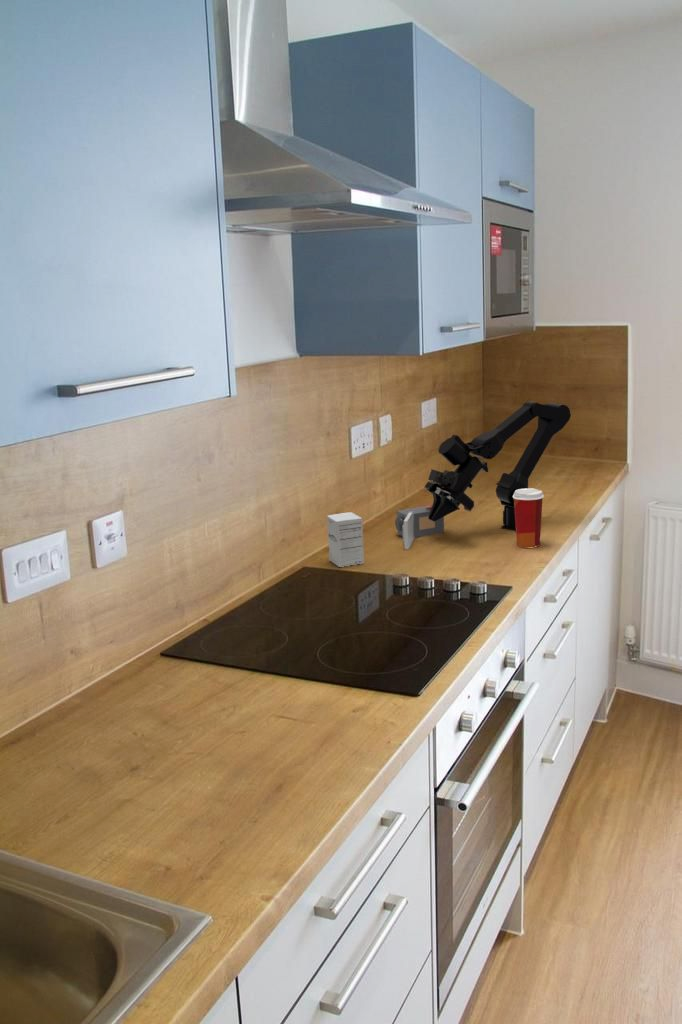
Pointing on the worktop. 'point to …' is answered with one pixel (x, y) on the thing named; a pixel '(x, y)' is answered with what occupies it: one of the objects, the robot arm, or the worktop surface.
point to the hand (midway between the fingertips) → (431, 520)
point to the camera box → (420, 522)
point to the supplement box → (345, 539)
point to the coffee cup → (528, 516)
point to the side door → (408, 530)
